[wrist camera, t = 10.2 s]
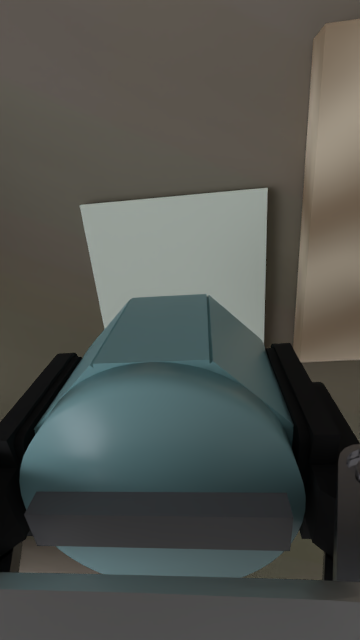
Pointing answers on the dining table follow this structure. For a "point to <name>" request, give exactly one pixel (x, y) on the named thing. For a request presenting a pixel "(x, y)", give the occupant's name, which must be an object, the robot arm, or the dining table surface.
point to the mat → (182, 251)
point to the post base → (331, 202)
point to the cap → (167, 449)
